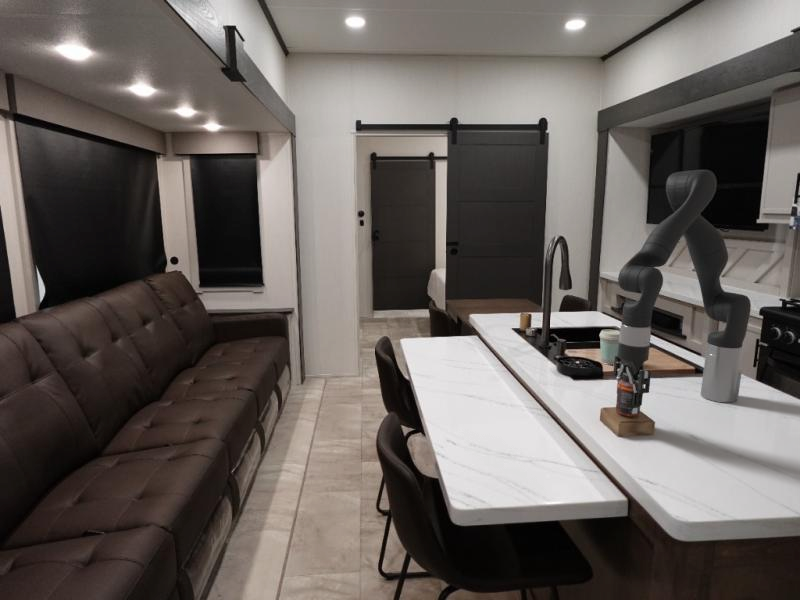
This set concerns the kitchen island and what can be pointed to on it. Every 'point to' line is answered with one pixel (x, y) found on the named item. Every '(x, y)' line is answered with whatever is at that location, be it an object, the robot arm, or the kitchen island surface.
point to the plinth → (626, 423)
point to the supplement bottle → (626, 398)
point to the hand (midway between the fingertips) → (628, 399)
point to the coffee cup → (609, 345)
